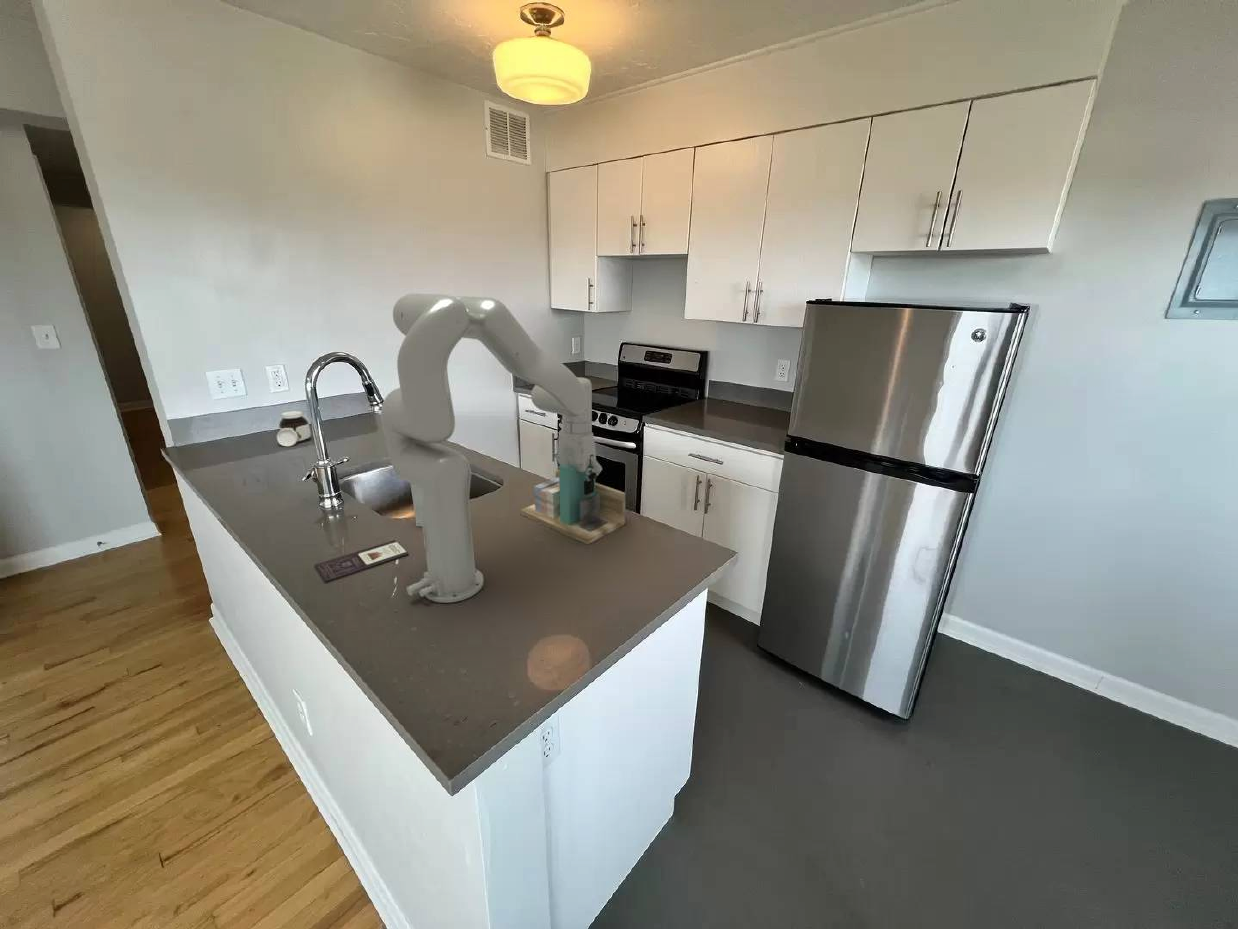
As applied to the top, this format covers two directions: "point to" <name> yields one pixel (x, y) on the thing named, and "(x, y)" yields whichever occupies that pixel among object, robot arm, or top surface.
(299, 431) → the spread jar
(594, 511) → the shelf
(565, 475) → the book
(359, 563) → the chocolate bar
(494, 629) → the top surface
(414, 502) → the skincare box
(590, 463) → the robot arm
